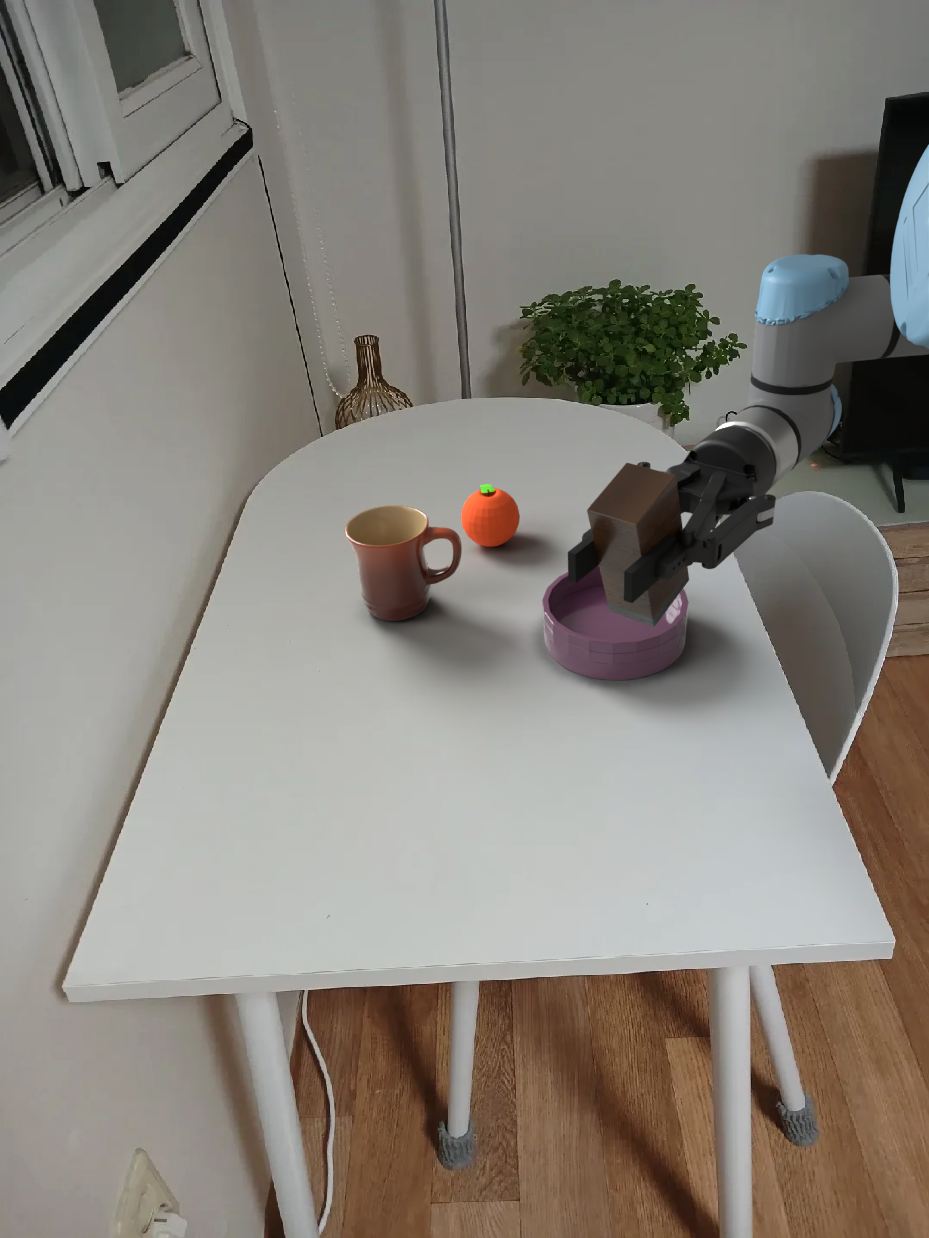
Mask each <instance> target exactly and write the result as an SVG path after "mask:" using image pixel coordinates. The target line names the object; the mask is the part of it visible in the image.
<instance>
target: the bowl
mask: <svg viewBox="0 0 929 1238" xmlns="http://www.w3.org/2000/svg"><path fill="white" fill-rule="evenodd" d="M541 603H542V621H543V639H544V640H543V641H544V645H545V648H546V650H547V652H548V654H549V655H550V656H551V657H552V658H553V660H554V661H555V662H557V663H558V664H559V665H560V666H562V667H563V668H565V669H566V670H568V671H571V672H573V673H574V674H577V675H581V676H584V677H587V678H590V679H591V678H592V679H596V680H603V681H627V680H629V681H630V680H636V679H641V678H645V677H647V676H652V675H654V674H656V673H659V672H661V671H663V670H665V669H667V668H668V667H669V666H671V665H672V664H673V663H674V662H676V661H677V660H678V659H679V658H680V656H681V654H682V653H683V651H684V650H685V649H684V648H685V645H686V637H687V625H688V615H689V604H690V603H689V599H688V596H687V594H686V590H685V589H684V588H683V589H682V591H681V592H680V593H679V595H678V596H677V597H676V599H675V600H674V601H673V603H672V604H671V605H670V607H669V608H668V610H667V611H666V612H665V614H664V615H663V616H662V618H661V619H660V620H659V622H658V623H657V624H656V626H655V627H652V626H649V625H646V624H643V623H641V622H638V621H635V620H633V619H630V618H627V617H624V616H622V615H619V614H616V613H614V612H611V611H609V607H608V602H607V598H606V594H605V589H604V585H603V580H602V576H601V571H600V567H599V565H598V566H597V567H596V568H594V569H593V570H592V571H591V572H589V573H588V574H587V575H586V576H585V577H583V578H582V579H581V580H580V581H578V582H577V583H574V582H571V581H568V571H567V572H565V573H563V574H562V575H559V576H558V577H556V578H555V579H554V580H553V581H552V582H551V583H550V584H549V585H548V586H547V587H546V589H545V592H544V595H543V597H542V600H541Z"/></svg>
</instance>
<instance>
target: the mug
mask: <svg viewBox="0 0 929 1238" xmlns="http://www.w3.org/2000/svg"><path fill="white" fill-rule="evenodd" d="M429 522H430V521H429V516H427V515H426V514H425V513H424V512H423V511H422V510H420V509H418V508H415V507H414V506H413V507H412V506H408V505H403V504H401V505H400V504H389V505H380V506H376V507H372V508H369V509H366V510H362V511H361V512H359V513H357V514H356V515H354V516H353V517H351V518H350V519H349V520H348V521H347V523H346V524H345V527H344V536H345V538H346V539H347V541H348V543H349V545H350V546H351V549H352V550H353V553H354V555H355V559H356V563H357V571H358V578H359V585H360V594H361V598H362V601H363V603H364V605H365V608H366V610H367V611H368V613H369V614H370V615H371V616H373V617H375V618H378V619H379V620H382V621H387V622H400V621H405V620H408V619H412V618H413V617H415V616H417V615H419V614H420V613H422V612H423V611H424V610H425V609H426V608H427V607H428V604H429V601H430V595H431V585H435V584H438V583H441V582H443V581H445V580H447V579H449V578H451V577H452V576H453V575H454V574H455V573H456V572H457V570H458V568H459V566H460V563H461V560H462V553H463V552H462V551H463V546H462V540H461V537H460V535H459V534H458V533H457V531H456V530H454V529H452V528H449V527H445V526H444V527H442V526H441V527H439V526H430V524H429ZM442 539H443V540H447V541H449V542H451V545H452V559H451V561H450V562H449V564H448V565H446V566H445V567H442V568H437V569H435V568H430V567H429V565H428V561H427V558H426V557H427V556H426V547H425V546H426V545H428V544H429V543H431V542H433V541H435V540H442Z"/></svg>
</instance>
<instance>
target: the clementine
mask: <svg viewBox="0 0 929 1238" xmlns="http://www.w3.org/2000/svg"><path fill="white" fill-rule="evenodd" d="M479 487H480V489H478V490H476V491H474V492H473V493H472V494H470V495H469V496H468V498H467V499H466V500H465V501H464V504H463V506H462V509H461V512H460V513H461V515H460V518H461V519H460V520H461V521H460V522H461V525H462V529H463V531H464V533H465V534H466V535H467V537H468V538H469V539H470V540H471V541H472V542H474V543H476V544H478V545H480V546H483V547H492V548H493V547H499V546H501V545H504V543H505V544H506V543H507V542H508V541H509V540H510V539H512V537H513V536H514V535H515V534H516V532H517V530H518V528H519V525H520V518H521V516H520V515H521V514H520V509H519V505H518V504H517V502H516V500H515V499H514V498H513V496H511V494H509V493H508V492H507V491H505V490H503V489H501V488H497V487H494V486H493V485H492V484H490V483H486V484H480V485H479Z"/></svg>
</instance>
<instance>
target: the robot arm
mask: <svg viewBox="0 0 929 1238" xmlns="http://www.w3.org/2000/svg"><path fill="white" fill-rule="evenodd" d="M891 249H892V250H891V258H890V273H889V274H875V275H872V274H871V275H864V276H863V275H861V276H851V277H849V267H848V265H847V263H846V262H845V261H844V260H842V259H840V258H839V257H835V256H833V255H827V254H820V253H819V254H806V253H803V254H801V253H800V254H792V255H786V256H782V257H779V258H777V259H775V260H773V261H772V262H770V263H769V264H768V265H767V266H766V267H765V269H764V270H763V273H762V274H761V275H762V276H761V279H760V285H759V290H758V296H757V302H756V303H757V304H756V308H755V312H754V318H755V319H754V321H755V322H754V333H753V334H754V335H753V350H752V361H751V362H752V363H751V365H752V366H751V375H750V380H749V386H748V399H747V405H746V406H745V407H744V408H743V409H741V410H740V411H738V412H737V414H735V415H734V416H732V417H731V418H729V419H728V420H727V421H726V422H724V423H723V424H721V425H720V426H719V427H717V428H716V429H714V431H713V432H711V433H710V434H708V435H707V436H706V437H704V438H703V439H702V440H700V441H699V442H697V443H696V444H695V445H694V446H693V447H692V448H691V450H690V451H689V452H688V454H687V455H686V456H685V458H684V460H683V461H682V462H681V463H679V464H675V465H672V466H670V467H668V468H667V469H666V470H664V471H663V470H660V471H661V472H665V473H669V474H673V475H676V480H677V488H678V495H679V503H680V511H681V515H682V514H684V513H689V514H691V515H690V517H689V519H688V521H686V524H685V525H684V527H683V530H682V529H681V527H680V531H679V541H678V542H677V543H676V537H675V536H672V535H669V534H668V535H667V536H666V537H664V538H663V539H662V540H661V541H660V542H658V543H657V544H656V545H655V546H654V547H652V548H651V549H650V550H649V551H648V552H646V553H645V554H644V555H643V556H642V557H640V558H639V559H638V560H637V561H636V562H634V563H633V564H632V565H631V566H630V567H628V568H627V569H626V570H625V571H624V601H627V602H630V603H633V602H634V601H635V600H636V599H638V598H639V597H640V596H641V595H642V594H643V593H644V592H646V591H647V590H648V589H649V588H650V587H651V586H652V585H653V584H655V583H656V582H657V581H658V580H659V579H660V578H661V579H664V580H668V579H670V578H672V577H673V576H674V575H675V574H676V573H677V572H679V571H680V570H681V569H682V568H683V567H684V566H688V567H690V566H692V565H693V564H694V563H698V564H701V567H702V568H703V569H706V570H713V569H716V568H717V567H718V566H720V565H721V563H723V562H724V561H725V560H726V559H727V558H728V557H730V555H731V554H733V553H734V552H735V551H736V550H737V549H738V548H739V547H740V546H741V545H743V544H744V542H746V541H747V540H748V539H749V538H750V537H752V535H753V534H755V533H756V532H758V531H761V530H763V529H765V528H768V527H771V526H772V525H773V524H774V517H775V510H776V509H775V508H776V502H777V501H776V500H777V497H776V496H775V495H773V494H770V493H768V492H769V491H770V490H771V489H772V488H773V487H774V486H776V485H777V484H778V483H779V482H780V481H782V479H784V477H786V476H787V475H788V474H789V473H790V472H791V471H793V470H794V469H795V467H796V466H797V465H798V464H800V463H801V462H802V461H804V460H805V459H806V458H807V457H808V456H810V455H812V454H813V453H814V452H816V451H818V450H819V449H820V448H821V447H822V446H823V445H824V443H826V441H827V439H828V438H830V436H831V435H832V433H833V432H834V431H835V430H836V429H837V427H838V425H839V422H840V420H841V417H842V411H843V410H842V408H843V406H842V401H841V398H840V395H839V393H838V389H837V388H836V386H835V385H834V384H833V380H834V374H835V369H836V365H837V364H839V363H850V362H861V361H868V360H869V361H871V360H884V359H888V358H900V357H911V356H912V357H913V356H925V355H926V356H927V355H929V144H928V145H927V147H926V148H925V150H924V152H923V153H922V155H921V157H920V159H919V161H918V162H917V164H916V167H915V168H914V171H913V173H912V175H911V178H910V180H909V182H908V184H907V187H906V191H905V193H904V197H903V200H902V204H901V207H900V210H899V214H898V220H897V223H896V227H895V232H894V236H893V242H892V248H891ZM636 465H638V466H642V467H646V468H650V469H651V463H650V462H649V461H640V462H638V463H637V464H636ZM724 516H728V517H726V518H725V519H724V520H723V521H721V522H720V520H722V518H723V517H724ZM719 522H720V523H719ZM718 523H719V524H718ZM598 565H599V562H598V558H597V553H596V549H595V544H594V540H593V535H592V531H591V528H589V529H587V531H585V532H584V533H582V536H581V541H580V542H579V543H577V544H576V545H575V546H573V547H571V549H570V550H568V551H567V572H568V581H571V582H574V583H577V582H578V581H580V580H581V579H582V578H583V577H585V576H586V575H587V574H588V573H589V572H591V571H592V570H593V569H594V568H596V567H597V566H598Z"/></svg>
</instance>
